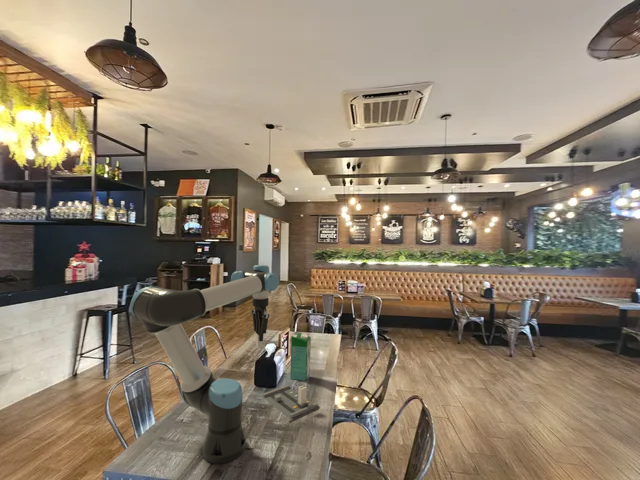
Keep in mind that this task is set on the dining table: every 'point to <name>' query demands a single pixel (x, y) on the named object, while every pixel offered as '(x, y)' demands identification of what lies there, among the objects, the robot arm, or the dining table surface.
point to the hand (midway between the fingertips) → (259, 347)
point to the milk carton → (300, 356)
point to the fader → (302, 397)
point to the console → (288, 402)
